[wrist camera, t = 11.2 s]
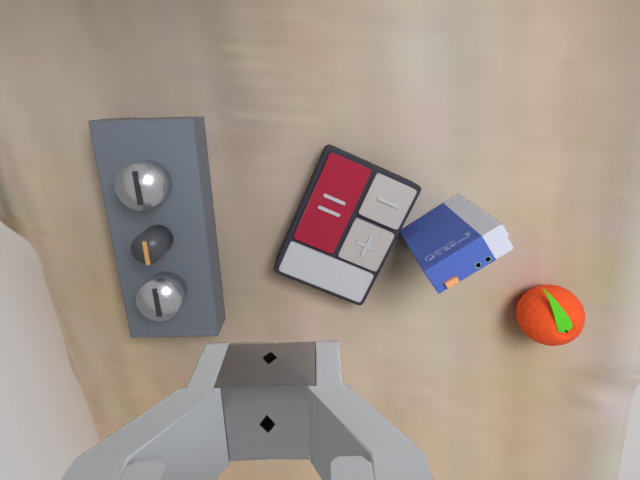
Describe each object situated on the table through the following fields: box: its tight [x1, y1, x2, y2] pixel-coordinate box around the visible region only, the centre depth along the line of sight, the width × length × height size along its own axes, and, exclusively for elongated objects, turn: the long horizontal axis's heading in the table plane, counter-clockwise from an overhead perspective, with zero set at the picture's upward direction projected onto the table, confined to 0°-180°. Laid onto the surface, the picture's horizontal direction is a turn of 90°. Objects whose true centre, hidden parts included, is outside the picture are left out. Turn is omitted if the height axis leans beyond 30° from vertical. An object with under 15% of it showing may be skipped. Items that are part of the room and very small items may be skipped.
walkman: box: [400, 193, 514, 294], centre depth 42 cm, size 8×3×12 cm, turn 125°
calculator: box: [274, 145, 421, 305], centre depth 46 cm, size 11×4×15 cm
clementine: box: [516, 285, 585, 346], centre depth 47 cm, size 8×7×7 cm
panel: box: [88, 117, 225, 338], centre depth 45 cm, size 24×10×4 cm, turn 1°
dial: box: [131, 225, 173, 265], centre depth 42 cm, size 3×3×4 cm
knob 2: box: [136, 271, 187, 321], centre depth 46 cm, size 4×4×7 cm
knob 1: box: [114, 160, 172, 211], centre depth 42 cm, size 4×4×7 cm
